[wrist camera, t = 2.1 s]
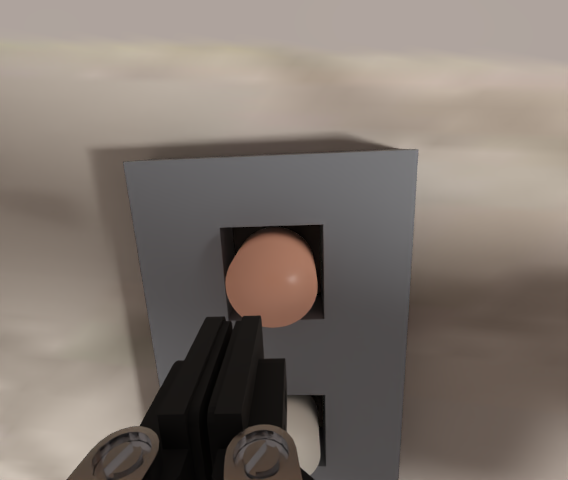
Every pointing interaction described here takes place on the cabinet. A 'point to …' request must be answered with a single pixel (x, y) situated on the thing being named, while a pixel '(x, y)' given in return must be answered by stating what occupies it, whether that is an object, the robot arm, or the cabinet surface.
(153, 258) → the button panel
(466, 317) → the cabinet surface
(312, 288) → the terracotta button
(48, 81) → the cabinet surface
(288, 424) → the cream button
